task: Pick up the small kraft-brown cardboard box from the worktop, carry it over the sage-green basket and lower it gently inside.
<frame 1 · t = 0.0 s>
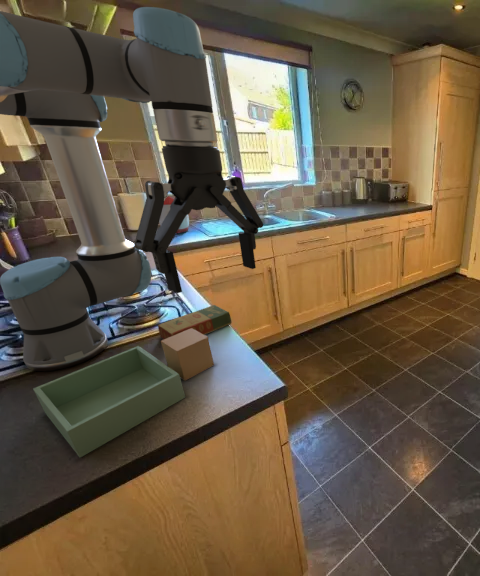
hand: (215, 277, 57), 28 cm above the worktop, tool pointing down, fingers open, 13 cm apart
box: (191, 367, 78), on the worktop
citrus juicer: (175, 231, 190), on the worktop
carton: (198, 331, 93), on the worktop
basket: (118, 405, 66), on the worktop
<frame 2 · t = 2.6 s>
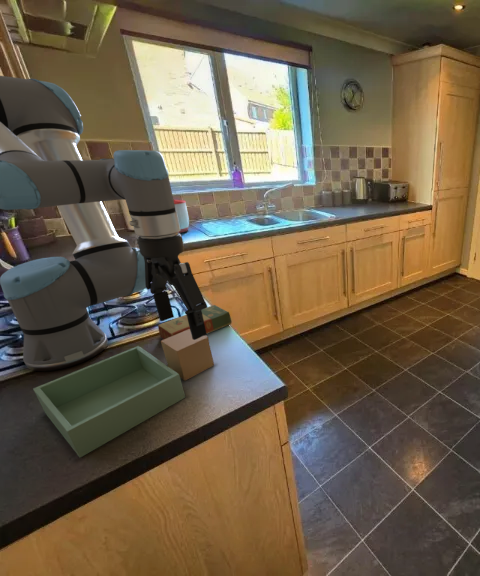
hand: (182, 327, 73), 11 cm above the worktop, tool pointing down, fingers open, 13 cm apart
nothing on the worktop moved.
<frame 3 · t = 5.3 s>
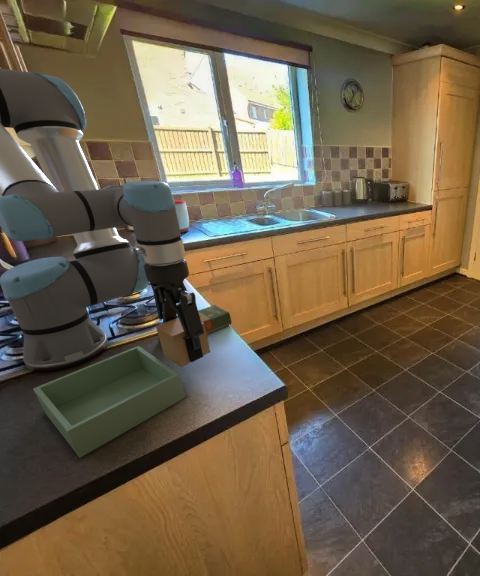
hand: (187, 352, 77), 4 cm above the worktop, tool pointing down, fingers closed on box, 7 cm apart
box: (187, 353, 77), point 4 cm above the worktop, touching gripper
everything else where it was.
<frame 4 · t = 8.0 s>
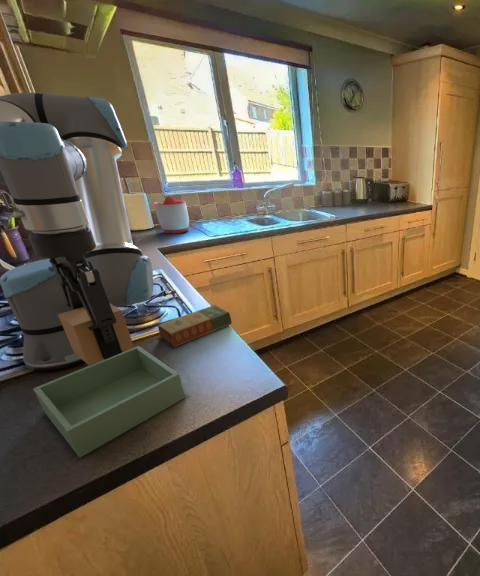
hand: (103, 348, 62), 13 cm above the worktop, tool pointing down, fingers closed on box, 7 cm apart
box: (104, 349, 62), point 13 cm above the worktop, touching gripper
everything else where it was.
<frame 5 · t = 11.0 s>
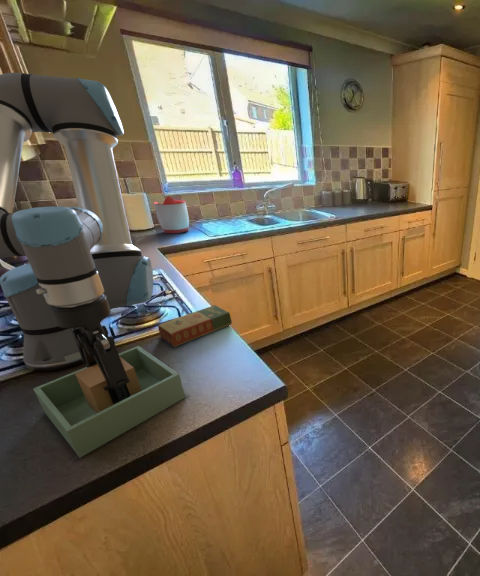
hand: (116, 401, 66), 1 cm above the worktop, tool pointing down, fingers closed on box, 7 cm apart
box: (117, 402, 66), point 1 cm above the worktop, touching gripper
everything else where it was.
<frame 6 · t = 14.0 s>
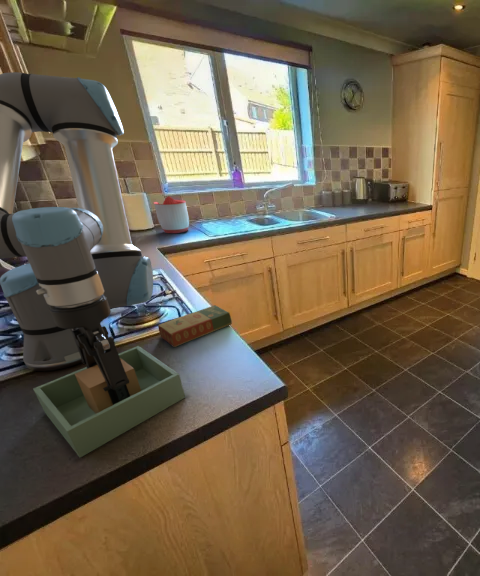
hand: (116, 402, 66), 1 cm above the worktop, tool pointing down, fingers closed on box, 7 cm apart
box: (117, 403, 66), point 1 cm above the worktop, touching gripper
everything else where it was.
when the fingers open (2 cm above the worktop, at t = 16.5 s): box stays where it is, resting on basket.
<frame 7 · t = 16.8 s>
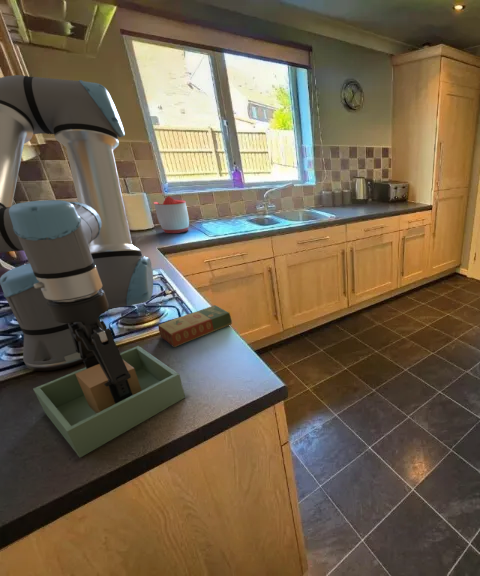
hand: (114, 394, 65), 3 cm above the worktop, tool pointing down, fingers open, 10 cm apart
box: (117, 402, 66), point 1 cm above the worktop, touching basket
everything else where it was.
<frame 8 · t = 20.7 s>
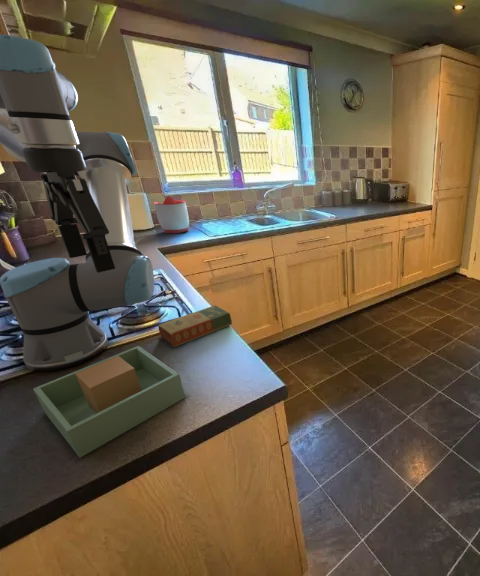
hand: (91, 263, 65), 27 cm above the worktop, tool pointing down, fingers open, 13 cm apart
nothing on the worktop moved.
at the end: box inside the target area in the basket (0.1 cm from its centre), point 0.6 cm above the basket's base; box tilted 0°; the gripper is holding nothing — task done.
